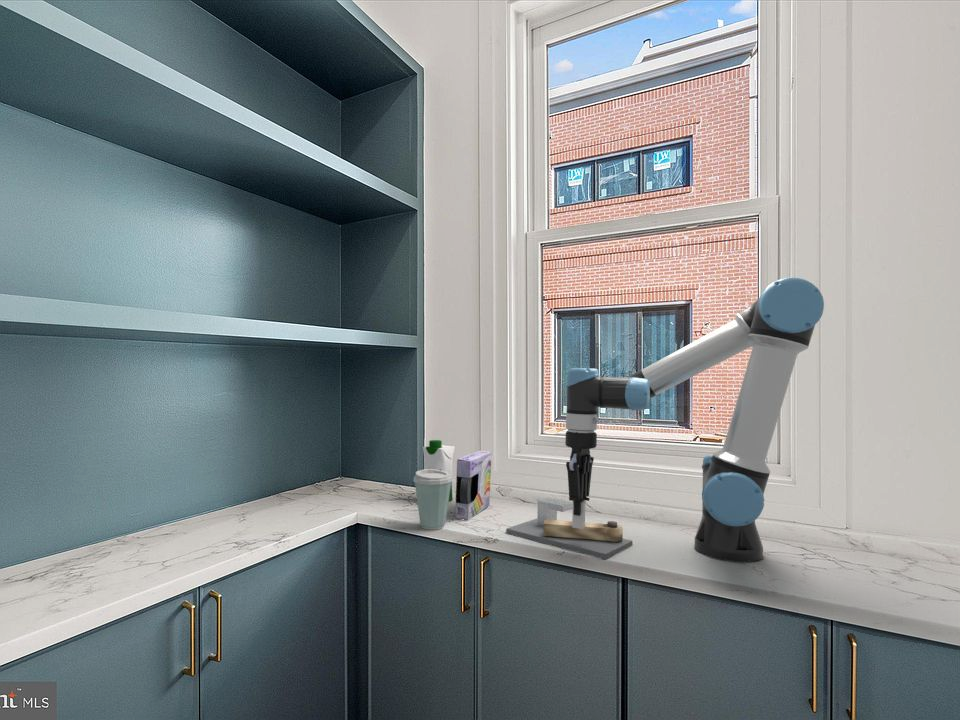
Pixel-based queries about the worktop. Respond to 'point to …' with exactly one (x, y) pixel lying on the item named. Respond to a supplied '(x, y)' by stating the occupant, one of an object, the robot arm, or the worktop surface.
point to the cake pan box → (472, 484)
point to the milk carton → (439, 458)
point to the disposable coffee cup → (432, 497)
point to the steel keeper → (551, 509)
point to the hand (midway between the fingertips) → (578, 527)
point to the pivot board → (570, 541)
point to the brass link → (584, 530)
